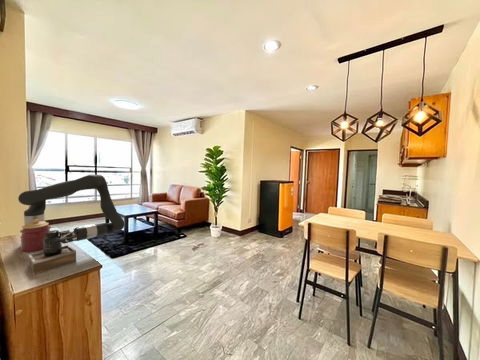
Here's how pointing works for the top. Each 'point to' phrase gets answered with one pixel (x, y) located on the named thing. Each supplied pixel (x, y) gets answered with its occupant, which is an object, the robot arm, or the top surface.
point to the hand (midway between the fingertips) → (47, 240)
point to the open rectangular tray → (51, 260)
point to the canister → (33, 235)
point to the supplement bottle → (54, 248)
